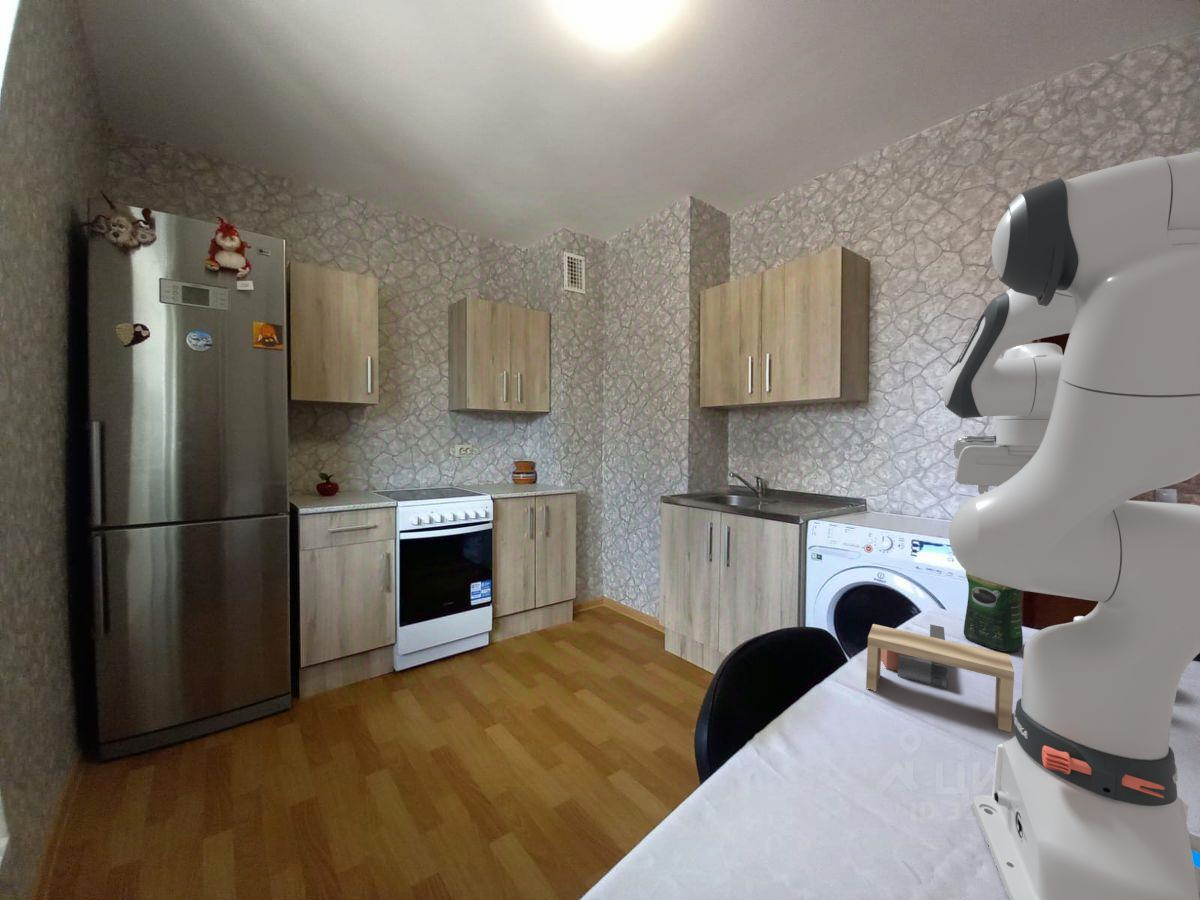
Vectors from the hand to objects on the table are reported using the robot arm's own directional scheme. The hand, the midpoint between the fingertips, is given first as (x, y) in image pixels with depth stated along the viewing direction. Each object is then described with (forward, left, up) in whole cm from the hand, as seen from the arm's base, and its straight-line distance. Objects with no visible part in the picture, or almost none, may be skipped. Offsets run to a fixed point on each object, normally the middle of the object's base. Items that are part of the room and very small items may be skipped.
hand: (1024, 513), depth 83 cm
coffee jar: (+19, +2, -32) cm, 37 cm away
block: (-5, +18, -32) cm, 37 cm away
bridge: (-15, +12, -32) cm, 37 cm away
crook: (+1, +14, -32) cm, 35 cm away
